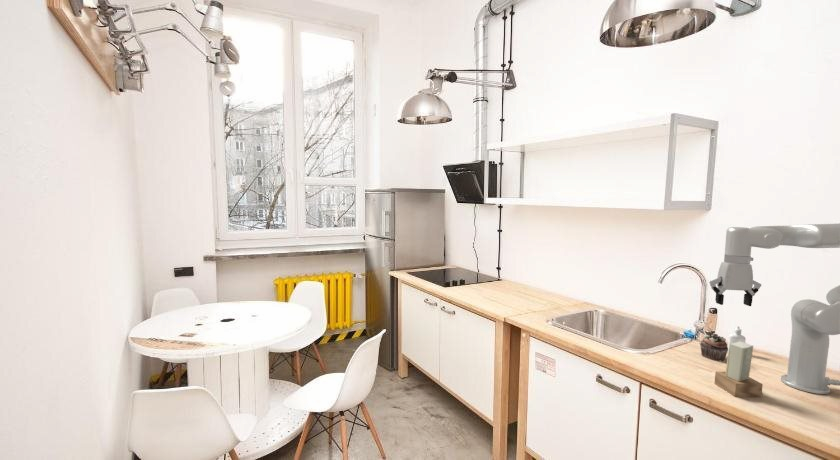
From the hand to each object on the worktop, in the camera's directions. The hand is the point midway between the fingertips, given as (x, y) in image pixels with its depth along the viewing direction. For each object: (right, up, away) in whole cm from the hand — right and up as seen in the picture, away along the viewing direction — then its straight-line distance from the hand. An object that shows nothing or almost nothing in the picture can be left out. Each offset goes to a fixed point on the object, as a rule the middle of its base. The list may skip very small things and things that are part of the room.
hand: (733, 304), depth 144 cm
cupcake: (+6, -26, +18) cm, 33 cm away
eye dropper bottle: (+21, -26, +24) cm, 41 cm away
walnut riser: (-7, -29, -11) cm, 31 cm away
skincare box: (-8, -24, -11) cm, 27 cm away
